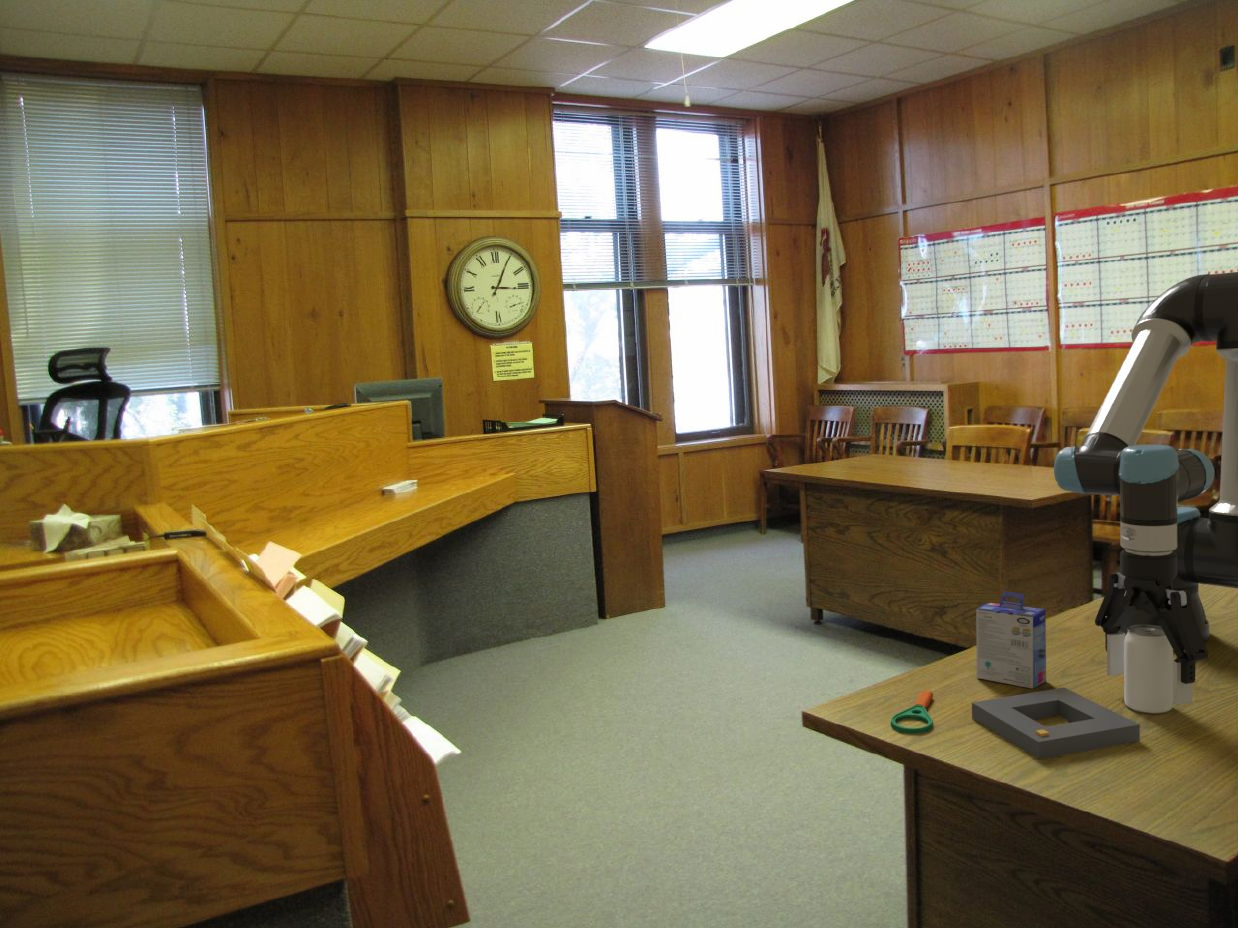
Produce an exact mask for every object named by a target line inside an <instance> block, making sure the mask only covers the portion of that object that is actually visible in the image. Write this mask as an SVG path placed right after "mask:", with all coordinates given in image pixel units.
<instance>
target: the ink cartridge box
mask: <svg viewBox="0 0 1238 928" xmlns="http://www.w3.org/2000/svg"><path fill="white" fill-rule="evenodd" d="M1011 597H1012V598H1013V597H1014V598H1016V599H1018V600H1019V601H1011V600H1006V598H1011ZM1024 602H1025V593H1018V592H1010V591H1003V593H1002V596H1001V599H1000V602H999V603H994V602H988V603H985V604H983V605H981V606H979V607H977V608H976V609H975V614H976V615H975V617H976V618H975V620H976V621H975V622H976V623H975V625H976V626H975V628H976V629H975V630H976V632H975V633H976V637H975V638H976V678H977V679H980V680H981V679H982V680H985V681H991V682H997V683H1001V684H1008V685H1012V686H1016V687H1022V688H1027V689H1034V688H1036V687H1038V686H1040V685H1042V684H1043V683H1046V682H1047V646H1046V645H1047V642H1046V641H1047V639H1046V638H1047V637H1046V636H1047V633H1046V631H1047V630H1046V629H1047V628H1046V627H1047V625H1046V624H1047V623H1046V619H1047V618H1046V616H1047V615H1046V612H1047V611H1046V609H1045V608H1038V607H1037V608H1036V607H1028V606H1024Z"/></svg>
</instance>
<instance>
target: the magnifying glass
mask: <svg viewBox="0 0 1238 928" xmlns="http://www.w3.org/2000/svg"><path fill="white" fill-rule="evenodd" d="M933 697H934V693H933V692H932V691H931V690H921V692H920V694H919V695H918V697H917V700H916V702H915V703H914V705H912V706H910V707H908V708H906V709H904V710H902V711H900V712H897V713H895V714H894V715H892V717H891V718H890V727H891V728H892V730H895V731H896V732H898V733H902V734H911V735H912V734H913V735H918V734H923V733H927V732H929V731H931V730H932V729H933V724H934V723H933V722H934V721H933V718H932V717H931V715H930V714H929V712H928V711H927V709H928V707H929V705H930V703H931V702H932V700H933ZM904 720H915V721H917V720H918V721H920V722H923V723H925V725H923V726H919V727H907V726H903V725H900V724H898V722H900V721H904Z"/></svg>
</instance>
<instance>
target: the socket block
mask: <svg viewBox="0 0 1238 928" xmlns="http://www.w3.org/2000/svg"><path fill="white" fill-rule="evenodd" d="M1054 717H1060V718H1062V719H1064V720H1066V721H1067V723H1061V724H1056V725H1051V726H1050V725H1049V726H1044V725H1042V724H1041V723H1039V722H1037V720H1042V719H1048V718H1054ZM971 719H973V720H974V721H976V722H977V723H978V724H981V725H982V726H984V727H985V728H987V729H989V730H990V731H992V732H993V733H994V734H997V735H999V736H1000V737H1001V738H1003V739H1005V740H1007V741H1008V742H1009V743H1011V744H1013V745H1014V746H1016V747H1018V748H1019V749H1021V750H1023V751H1024V752H1025V753H1027V754H1029V755H1030V756H1032V757H1033V758H1036V759H1037V760H1044V759H1049V758H1055V757H1061V756H1066V755H1072V754H1078V753H1083V752H1090V751H1094V750H1100V749H1104V748H1111V747H1117V746H1122V745H1127V744H1134V743H1138V742H1141V741H1140V740H1141V739H1140V738H1141V737H1140V736H1141V735H1140V734H1141V733H1140V732H1141V730H1140V729H1141V726H1140V725H1141V724H1140V723H1138V722H1135V721H1134V720H1132V719H1130V718H1128V717H1126V716H1123V715H1121V714H1119V713H1117V712H1115V711H1113V710H1112V709H1109V708H1108V707H1104V706H1103V705H1101V704H1099V703H1097V702H1095V701H1093V700H1091V699H1089V698H1086V697H1085V696H1083V695H1081V694H1078V693H1076V692H1075V691H1072V690H1070V689H1068V688H1066V687H1060V688H1053V689H1047V690H1046V689H1045V690H1040V691H1034V692H1028V693H1022V694H1017V695H1016V694H1015V695H1009V696H1002V697H998V698H997V697H996V698H991V699H985V700H978V701H972V702H971Z"/></svg>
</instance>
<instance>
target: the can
mask: <svg viewBox="0 0 1238 928" xmlns="http://www.w3.org/2000/svg"><path fill="white" fill-rule="evenodd" d="M1127 630H1128V632H1127V634H1126V636H1125V639H1124V674H1123V675H1124V677H1123V678H1124V680H1123V681H1124V682H1123V683H1124V684H1123V686H1124V687H1123V689H1124V695H1123V696H1124V704H1125V705H1126V707H1127V708H1129V709H1130V710H1131V711H1134V712H1137V713H1140V714H1148V715H1161V714H1166V713H1169V712H1170V711H1171V710H1172V708H1173V660H1174V650H1173V648H1172V646H1171V645H1170V643H1169V641H1168V639H1167V637H1166V635H1165V633H1164V631H1163V629H1162V628H1161V627H1160V626H1155V625H1133V626H1130V627H1128V628H1127Z"/></svg>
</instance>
